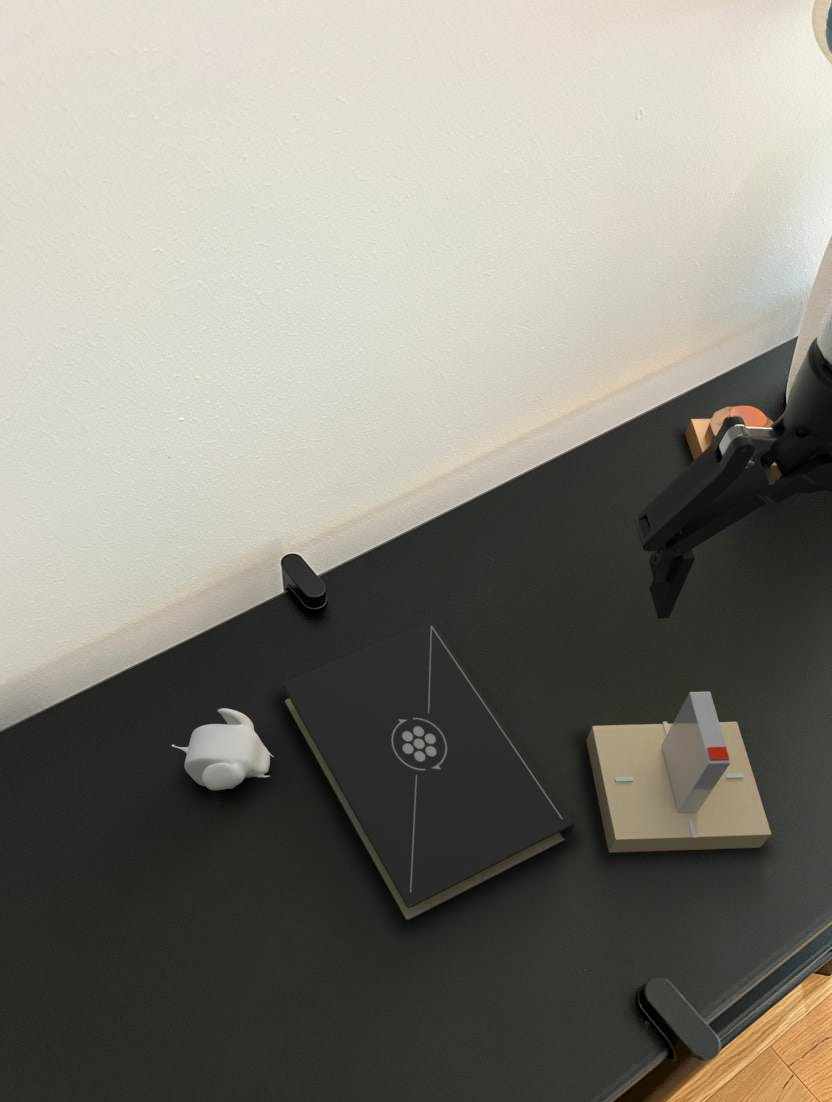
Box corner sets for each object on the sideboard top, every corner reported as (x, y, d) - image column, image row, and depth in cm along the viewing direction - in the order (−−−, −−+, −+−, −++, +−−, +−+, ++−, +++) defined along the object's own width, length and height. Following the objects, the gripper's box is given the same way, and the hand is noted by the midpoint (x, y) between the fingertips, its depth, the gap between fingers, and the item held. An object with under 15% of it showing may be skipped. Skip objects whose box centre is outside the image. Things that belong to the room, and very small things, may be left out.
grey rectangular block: (660, 744, 79) (690, 689, 72) (680, 744, 79) (711, 689, 73) (677, 812, 76) (709, 761, 69) (698, 812, 76) (732, 761, 69)
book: (571, 838, 77) (578, 821, 75) (406, 922, 73) (408, 908, 71) (433, 638, 88) (435, 618, 86) (283, 701, 84) (281, 683, 82)
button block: (759, 433, 104) (773, 403, 101) (778, 480, 100) (793, 451, 97) (685, 434, 104) (696, 405, 101) (701, 482, 100) (713, 453, 97)
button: (755, 418, 100) (761, 404, 99) (765, 442, 98) (771, 429, 97) (720, 418, 100) (725, 405, 99) (729, 443, 98) (735, 430, 96)
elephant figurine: (267, 815, 78) (262, 781, 73) (169, 805, 79) (157, 770, 74) (281, 742, 82) (277, 704, 77) (186, 732, 83) (177, 694, 78)
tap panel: (727, 735, 83) (737, 719, 80) (761, 849, 77) (773, 834, 75) (585, 739, 82) (592, 723, 80) (608, 854, 76) (616, 840, 74)
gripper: (672, 414, 50) (590, 649, 68) (1146, 396, 51) (945, 634, 68) (639, 321, 55) (570, 565, 72) (1077, 307, 55) (904, 552, 73)
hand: (752, 599), depth 70 cm, fingers open, 13 cm apart
